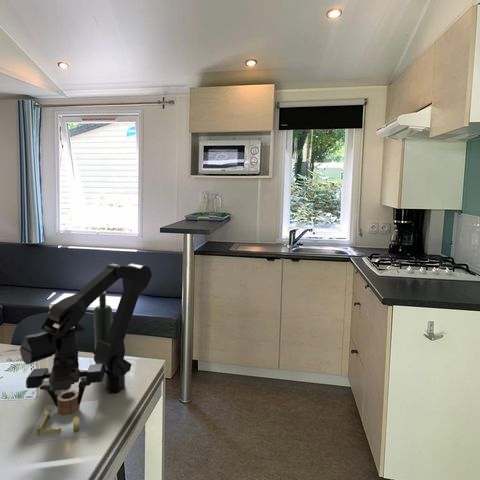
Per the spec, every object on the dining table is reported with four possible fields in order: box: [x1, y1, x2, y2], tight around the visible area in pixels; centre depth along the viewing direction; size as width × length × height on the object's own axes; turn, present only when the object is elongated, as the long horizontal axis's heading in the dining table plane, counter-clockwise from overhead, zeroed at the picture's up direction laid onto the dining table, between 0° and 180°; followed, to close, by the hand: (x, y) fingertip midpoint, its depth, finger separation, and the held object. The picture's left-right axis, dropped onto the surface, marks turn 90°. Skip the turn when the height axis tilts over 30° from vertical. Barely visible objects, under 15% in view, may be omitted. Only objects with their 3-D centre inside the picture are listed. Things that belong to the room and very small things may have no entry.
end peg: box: [73, 416, 79, 432], centre depth 92 cm, size 1×1×4 cm
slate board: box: [25, 400, 100, 445], centre depth 97 cm, size 16×14×1 cm
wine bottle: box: [93, 290, 113, 350], centre depth 124 cm, size 6×6×30 cm
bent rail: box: [37, 409, 62, 436], centre depth 95 cm, size 8×6×2 cm
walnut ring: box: [57, 389, 80, 415], centre depth 101 cm, size 5×5×4 cm
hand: (68, 405), depth 101 cm, fingers closed on walnut ring, 5 cm apart
